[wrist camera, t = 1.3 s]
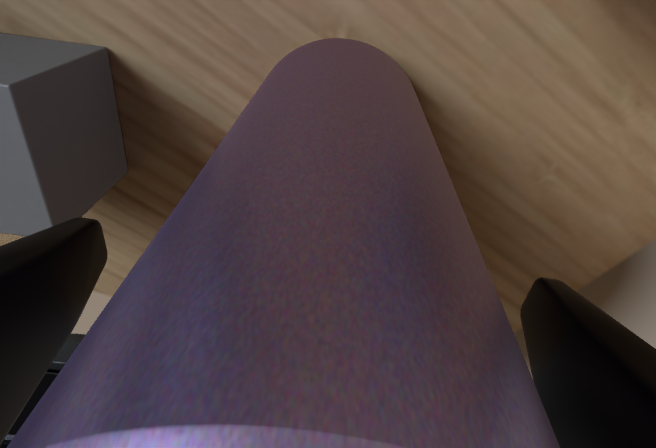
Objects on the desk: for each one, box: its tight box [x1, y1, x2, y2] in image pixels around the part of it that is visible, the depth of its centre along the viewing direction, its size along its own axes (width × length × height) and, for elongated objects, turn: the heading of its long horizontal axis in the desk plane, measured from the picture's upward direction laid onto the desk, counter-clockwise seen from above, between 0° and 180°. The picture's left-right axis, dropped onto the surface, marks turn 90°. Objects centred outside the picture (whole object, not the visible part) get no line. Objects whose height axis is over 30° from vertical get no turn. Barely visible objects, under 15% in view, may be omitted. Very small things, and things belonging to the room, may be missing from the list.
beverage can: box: [7, 38, 560, 448], centre depth 9 cm, size 6×6×15 cm
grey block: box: [0, 33, 128, 236], centre depth 14 cm, size 5×5×5 cm
